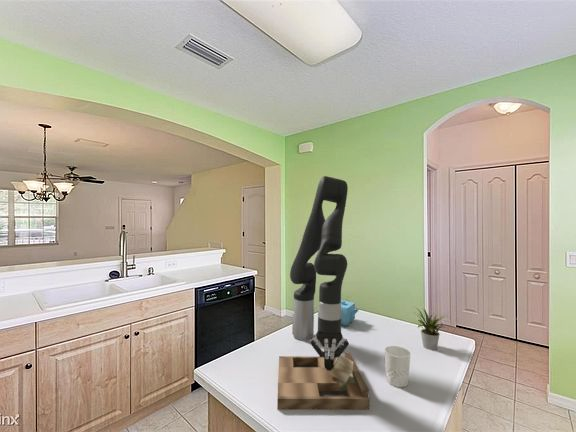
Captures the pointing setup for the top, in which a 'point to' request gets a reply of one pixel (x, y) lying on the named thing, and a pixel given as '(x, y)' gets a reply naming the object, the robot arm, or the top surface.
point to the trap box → (318, 385)
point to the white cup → (397, 365)
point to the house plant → (429, 331)
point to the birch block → (342, 368)
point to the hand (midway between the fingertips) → (328, 369)
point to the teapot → (348, 312)
